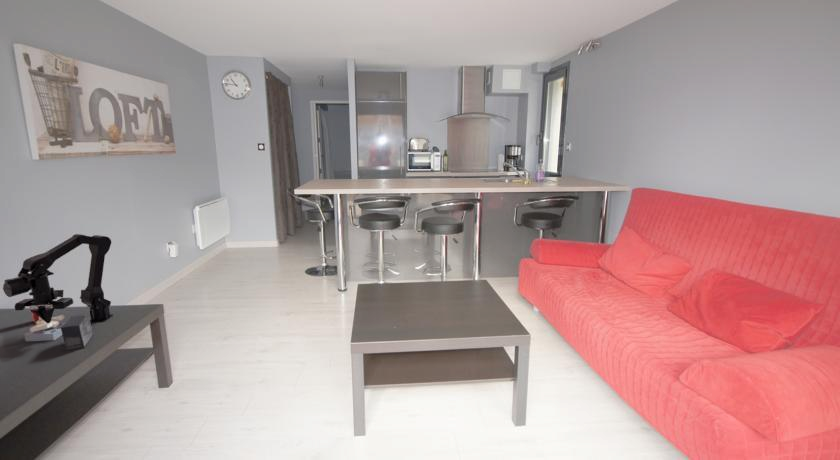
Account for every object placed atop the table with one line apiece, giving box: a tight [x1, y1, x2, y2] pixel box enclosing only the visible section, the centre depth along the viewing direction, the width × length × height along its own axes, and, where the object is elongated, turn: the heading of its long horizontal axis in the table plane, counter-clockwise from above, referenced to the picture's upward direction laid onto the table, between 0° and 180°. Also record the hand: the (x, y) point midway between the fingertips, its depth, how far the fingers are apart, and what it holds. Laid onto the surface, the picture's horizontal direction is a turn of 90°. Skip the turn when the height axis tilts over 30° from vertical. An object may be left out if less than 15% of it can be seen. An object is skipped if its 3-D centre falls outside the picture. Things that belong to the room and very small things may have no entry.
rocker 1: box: [29, 322, 53, 332], centre depth 171 cm, size 7×2×2 cm, turn 95°
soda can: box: [28, 295, 41, 324], centre depth 186 cm, size 5×5×12 cm
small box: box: [61, 313, 95, 351], centre depth 167 cm, size 11×6×10 cm, turn 21°
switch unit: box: [23, 321, 67, 342], centre depth 175 cm, size 11×11×4 cm
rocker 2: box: [35, 319, 60, 328], centre depth 174 cm, size 7×2×2 cm, turn 96°
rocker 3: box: [51, 314, 66, 322], centre depth 177 cm, size 7×2×2 cm, turn 95°
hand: (48, 322), depth 171 cm, fingers closed
